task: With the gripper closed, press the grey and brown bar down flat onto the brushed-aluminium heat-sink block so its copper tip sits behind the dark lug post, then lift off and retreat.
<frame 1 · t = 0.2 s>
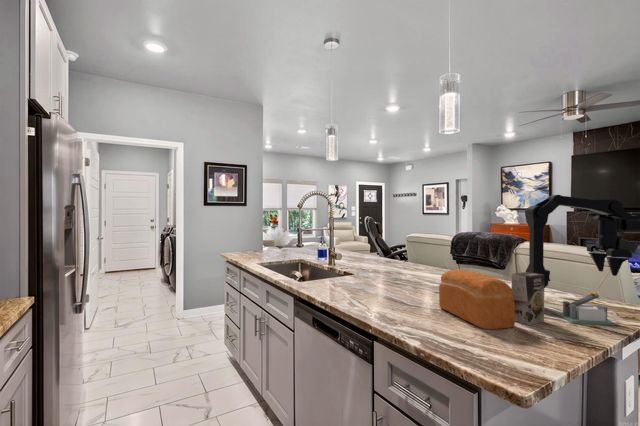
hand: (607, 273, 124), 14 cm above the worktop, fingers open, 9 cm apart
coffee box: (527, 321, 112), on the worktop
bread: (473, 317, 117), on the worktop
grey and brown bar: (581, 300, 114), point 7 cm above the worktop, hinge at 28.0°
heatsink board: (583, 319, 114), on the worktop
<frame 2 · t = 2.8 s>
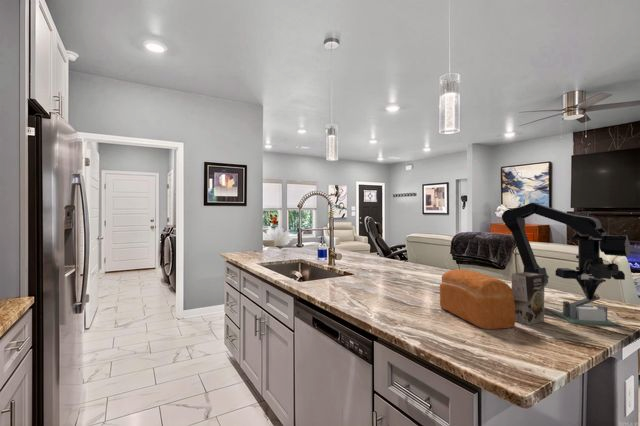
hand: (589, 298, 113), 7 cm above the worktop, fingers closed, pressing on grey and brown bar
grey and brown bar: (582, 301, 114), point 6 cm above the worktop, hinge at 23.7°, touching gripper
everything else where it was.
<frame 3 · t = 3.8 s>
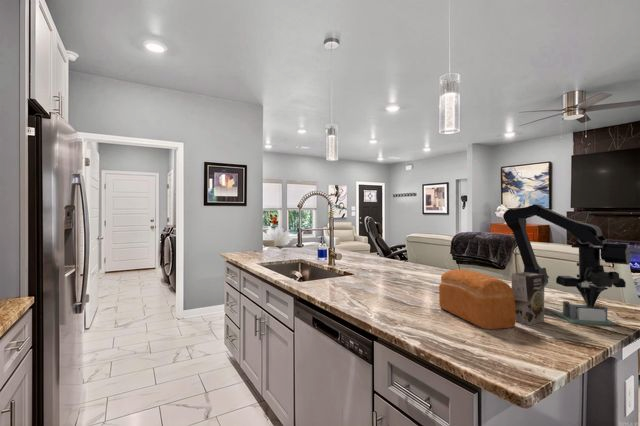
hand: (590, 306, 113), 5 cm above the worktop, fingers closed, pressing on grey and brown bar
grey and brown bar: (583, 305, 114), point 5 cm above the worktop, hinge at 2.2°, touching gripper
everything else where it was.
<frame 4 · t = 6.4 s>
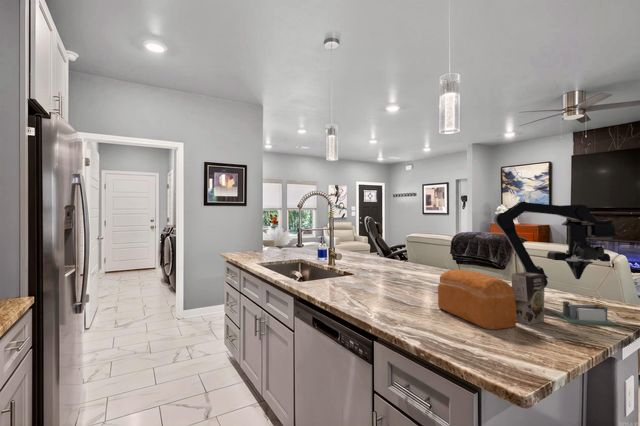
hand: (577, 279, 123), 12 cm above the worktop, fingers closed
grey and brown bar: (583, 305, 114), point 5 cm above the worktop, hinge at 2.0°
everything else where it was.
at the end: grey and brown bar at +2° (first picture: +28°) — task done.
